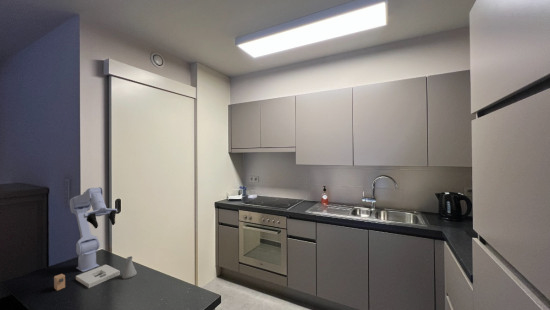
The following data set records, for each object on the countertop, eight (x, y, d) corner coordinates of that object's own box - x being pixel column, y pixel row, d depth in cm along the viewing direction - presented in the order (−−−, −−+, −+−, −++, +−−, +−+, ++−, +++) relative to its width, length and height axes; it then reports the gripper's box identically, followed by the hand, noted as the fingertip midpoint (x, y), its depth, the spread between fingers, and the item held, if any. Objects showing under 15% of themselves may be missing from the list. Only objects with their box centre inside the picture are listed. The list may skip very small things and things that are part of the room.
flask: (124, 280, 115) (124, 262, 115) (119, 276, 119) (119, 258, 119) (139, 274, 120) (139, 256, 120) (134, 270, 125) (133, 253, 125)
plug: (54, 288, 109) (54, 276, 109) (62, 285, 112) (62, 273, 112) (57, 291, 107) (57, 279, 107) (65, 287, 109) (65, 276, 109)
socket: (75, 279, 116) (75, 275, 116) (106, 267, 129) (106, 263, 129) (88, 288, 109) (88, 283, 109) (119, 274, 121) (119, 270, 121)
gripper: (84, 202, 112) (91, 223, 106) (116, 199, 124) (123, 218, 119) (79, 211, 114) (86, 232, 109) (111, 206, 126) (118, 225, 121)
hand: (105, 225), depth 114 cm, fingers open, 7 cm apart
